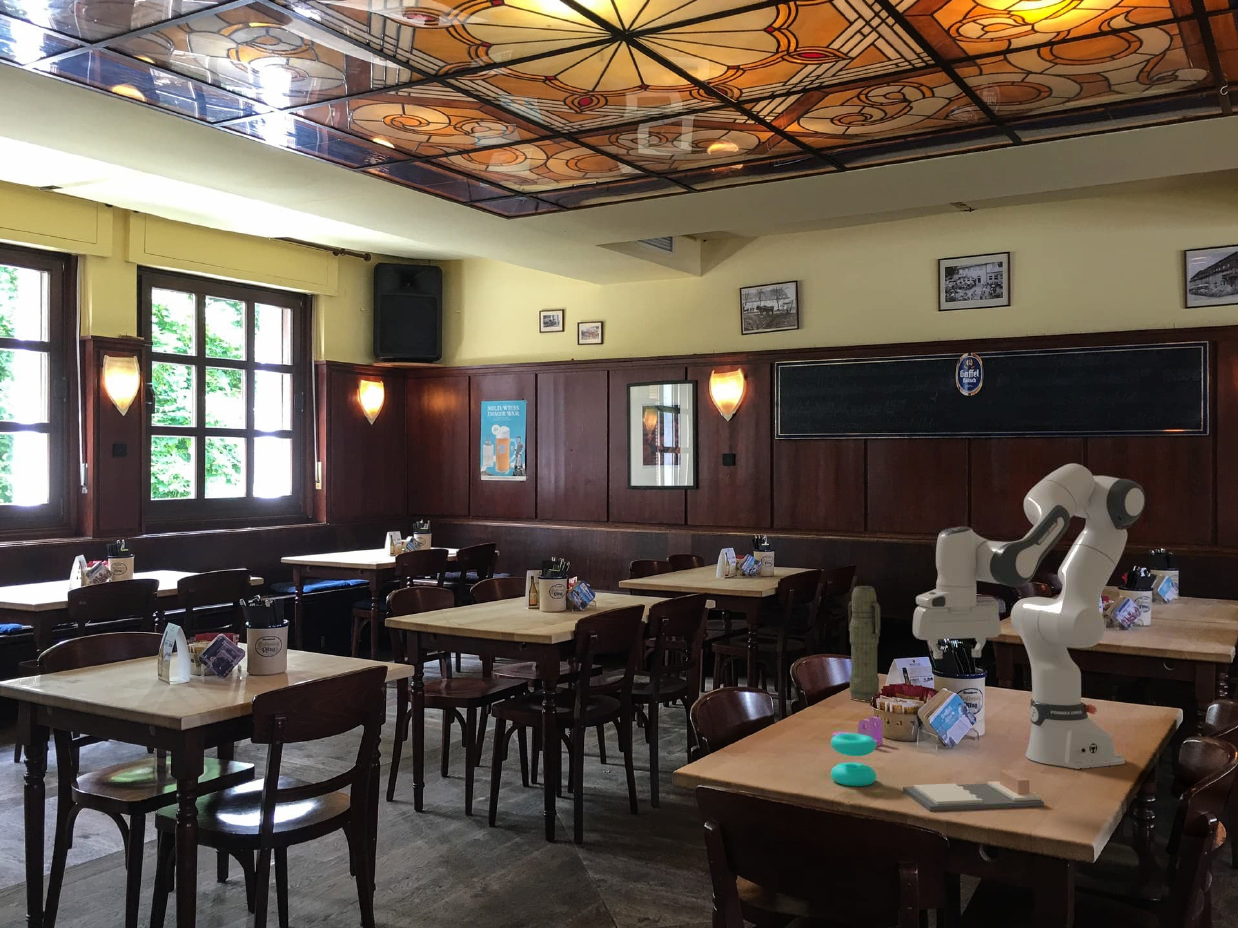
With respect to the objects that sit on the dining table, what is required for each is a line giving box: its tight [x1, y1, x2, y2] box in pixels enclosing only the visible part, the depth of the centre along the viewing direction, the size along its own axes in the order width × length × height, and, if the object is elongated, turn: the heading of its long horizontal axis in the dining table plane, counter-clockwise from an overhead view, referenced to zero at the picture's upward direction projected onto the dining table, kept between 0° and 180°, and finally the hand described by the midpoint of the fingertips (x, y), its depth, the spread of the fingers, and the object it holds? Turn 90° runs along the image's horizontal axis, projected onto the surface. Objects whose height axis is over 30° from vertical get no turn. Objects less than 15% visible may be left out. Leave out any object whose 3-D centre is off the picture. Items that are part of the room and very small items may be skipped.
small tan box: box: [986, 769, 1042, 801], centre depth 229 cm, size 6×12×4 cm, turn 8°
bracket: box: [832, 715, 884, 747], centre depth 278 cm, size 13×6×7 cm, turn 43°
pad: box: [902, 783, 1045, 812], centre depth 228 cm, size 25×14×2 cm, turn 98°
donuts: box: [830, 732, 877, 787], centre depth 241 cm, size 10×10×10 cm
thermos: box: [847, 585, 881, 701], centre depth 332 cm, size 9×12×35 cm
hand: (957, 657), depth 245 cm, fingers open, 8 cm apart
